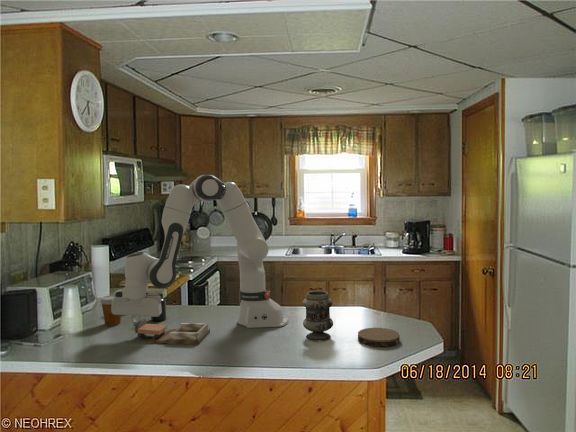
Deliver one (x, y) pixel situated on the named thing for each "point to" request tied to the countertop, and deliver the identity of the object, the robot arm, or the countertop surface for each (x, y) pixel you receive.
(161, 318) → the supplement bottle
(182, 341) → the loading dock
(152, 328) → the trolley
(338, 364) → the countertop surface
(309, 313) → the apothecary jar
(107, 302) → the disposable coffee cup
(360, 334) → the brown round disc
